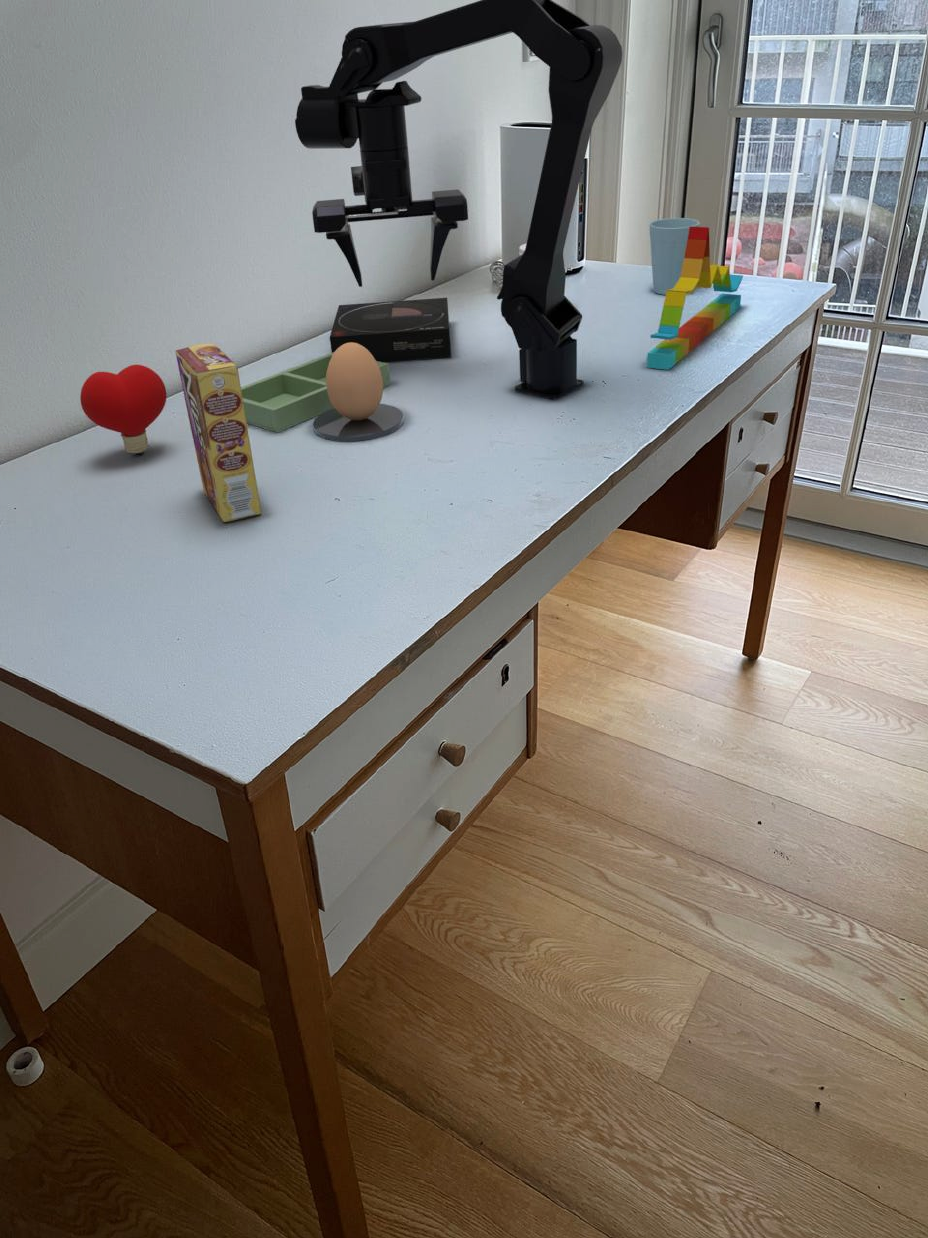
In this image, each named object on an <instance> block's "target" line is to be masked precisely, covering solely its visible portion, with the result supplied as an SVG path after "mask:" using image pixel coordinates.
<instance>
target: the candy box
mask: <svg viewBox="0 0 928 1238" xmlns="http://www.w3.org/2000/svg"><path fill="white" fill-rule="evenodd" d="M174 352H175V357H176V361H177V362H176V363H177V367H178V371H179V377H180V382H181V387H182V392H183V397H184V402H185V406H186V411H187V416H188V417H187V418H188V422H189V426H190V432H191V435H192V436H191V437H192V439H193V446H194V451H195V455H196V456H195V457H196V459H197V465H198V469H199V475H200V480H201V484H202V490H203V492H204V494H205V496H206V497H207V499H208V500H209V502H210V503H211V505H212V507H213V508H214V510H215V511H216V512H217V514H218V516H219V518H220V519H221V521H222V522H223V523H228V522H233V521H238V520H242V519H245V518H250V517H255V516H260V515H261V514H262V509H261V502H260V496H259V491H258V484H257V477H256V471H255V465H254V459H253V453H252V452H253V451H252V448H251V447H252V446H251V441H250V436H249V430H248V423H246V417H245V411H244V405H243V399H242V392H241V387H242V386H241V380H240V375H239V369H238V365H237V364H236V363H235V362H234V361H233V360H232V359H231V358H230V357H228V355H227V354H226V353H224V352H223V350H222V349H221V348H219V346H217V345H216V344H215V343H202V344H196V345H191V346H187V347H184V348H180V349H176V350H175V351H174Z"/></svg>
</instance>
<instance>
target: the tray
mask: <svg viewBox="0 0 928 1238" xmlns="http://www.w3.org/2000/svg"><path fill="white" fill-rule="evenodd" d="M333 354H334V352H333V353H332V352H331V353H327V354H326V355H323V356H319V357H317V358H315V359H311V360H310V361H307V362H304V363H302V364H298V365H296V366H293V367H291V368H288V369H286V370H283V371H281V372H278V373H274V374H273V375H270V376H267V377H264V378H262V379H258V380H256V381H253V382H251V383H249V384H246V385H243V386H241V392H242V399H243V405H244V411H245V417H246V423H247V425H252V426H255V427H257V428H261V429H264V430H268V431H271V432H274V433H277V434H278V433H281V432H282V431H285V430H288V429H289V428H293V427H294V426H297V425H298V424H299V425H300V424H301V423H303V422H306V421H309V420H310V419H313V418H316V417H318V416H319V415H320V414H322V413H324V412H326V411H328V410H331V409H334V406H333V405H332V403H331V401H330V399H329V397H328V392H327V386H326V373H327V369H328V365H329V362H330V360H331V357H332V355H333ZM376 362H377V364H378V366H379V368H380V371H381V375H382V379H383V388H386V387H387V386H390V385H391V376H390V368H389V362H379V361H376Z"/></svg>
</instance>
